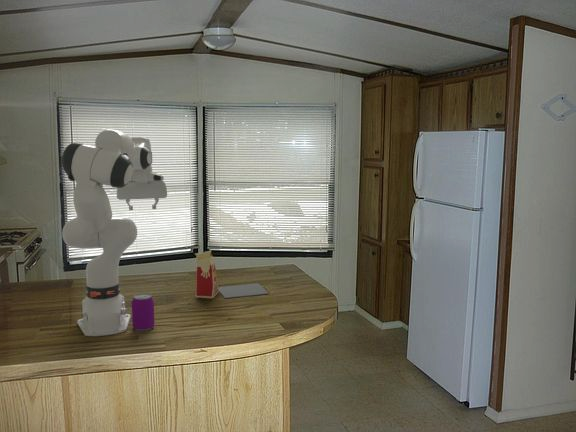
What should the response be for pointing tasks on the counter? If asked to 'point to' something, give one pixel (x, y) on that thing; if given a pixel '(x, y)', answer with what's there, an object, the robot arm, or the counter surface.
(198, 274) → the milk carton
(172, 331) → the counter surface
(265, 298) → the counter surface
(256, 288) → the mat
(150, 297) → the beverage can
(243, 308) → the counter surface
